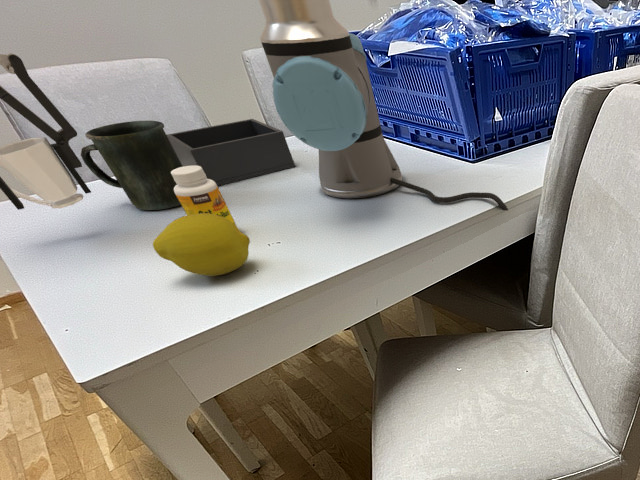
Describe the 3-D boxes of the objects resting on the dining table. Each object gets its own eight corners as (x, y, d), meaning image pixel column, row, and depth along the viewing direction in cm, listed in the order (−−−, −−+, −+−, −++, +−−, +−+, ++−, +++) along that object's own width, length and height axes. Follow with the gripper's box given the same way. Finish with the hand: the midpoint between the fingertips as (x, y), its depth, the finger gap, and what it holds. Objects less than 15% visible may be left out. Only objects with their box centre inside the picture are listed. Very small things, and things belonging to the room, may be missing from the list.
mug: (188, 209, 80) (147, 134, 72) (100, 217, 78) (46, 140, 70) (209, 188, 88) (173, 118, 79) (128, 195, 86) (83, 124, 78)
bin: (295, 166, 97) (282, 131, 92) (209, 188, 88) (190, 150, 83) (265, 151, 105) (252, 118, 100) (184, 170, 96) (165, 134, 92)
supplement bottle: (213, 249, 68) (174, 178, 61) (195, 240, 71) (156, 171, 63) (247, 236, 71) (214, 167, 64) (229, 228, 74) (196, 161, 67)
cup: (79, 208, 67) (27, 150, 61) (12, 219, 66) (-47, 163, 60) (102, 188, 71) (56, 133, 65) (39, 199, 71) (-13, 144, 65)
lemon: (267, 255, 66) (241, 200, 61) (255, 281, 61) (226, 223, 55) (188, 264, 65) (154, 208, 59) (169, 291, 59) (130, 233, 54)
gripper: (10, -7, 59) (126, 175, 75) (-226, 5, 49) (-35, 212, 65) (15, -7, 55) (136, 185, 71) (-241, 6, 45) (-33, 226, 61)
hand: (54, 198), depth 68 cm, fingers closed on cup, 8 cm apart
